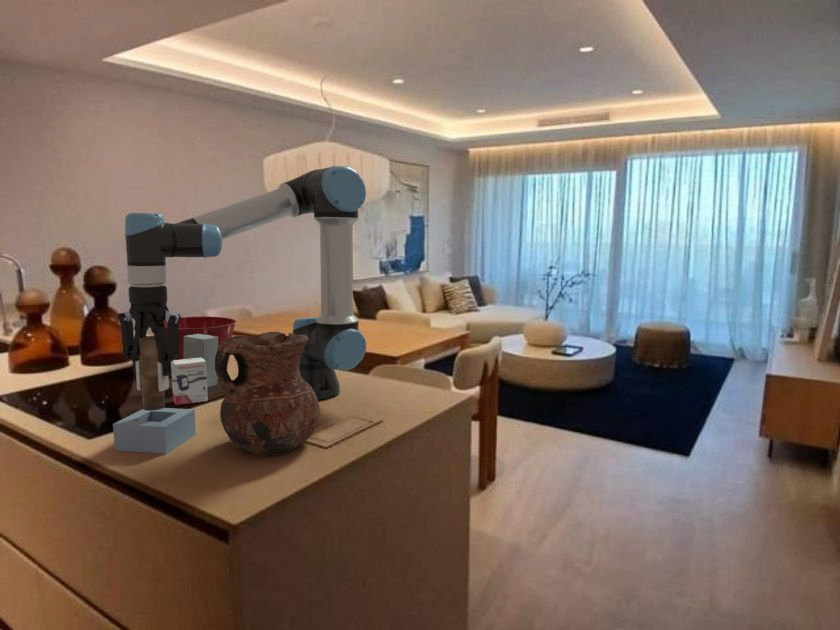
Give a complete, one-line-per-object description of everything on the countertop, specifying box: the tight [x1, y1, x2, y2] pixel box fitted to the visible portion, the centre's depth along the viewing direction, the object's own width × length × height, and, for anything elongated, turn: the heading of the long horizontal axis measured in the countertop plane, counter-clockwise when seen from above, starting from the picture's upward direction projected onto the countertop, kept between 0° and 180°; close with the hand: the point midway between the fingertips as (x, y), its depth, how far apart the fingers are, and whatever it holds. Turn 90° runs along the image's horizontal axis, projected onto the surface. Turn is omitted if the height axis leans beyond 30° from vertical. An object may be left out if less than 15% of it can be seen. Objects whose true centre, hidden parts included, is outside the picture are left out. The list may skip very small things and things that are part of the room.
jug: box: [215, 331, 321, 457], centre depth 121 cm, size 22×21×25 cm
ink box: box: [171, 358, 209, 406], centre depth 153 cm, size 8×5×12 cm, turn 123°
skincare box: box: [183, 334, 218, 389], centre depth 169 cm, size 8×7×16 cm
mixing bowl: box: [164, 316, 237, 361], centre depth 198 cm, size 28×28×16 cm
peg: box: [139, 335, 166, 411], centre depth 122 cm, size 4×4×16 cm
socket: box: [112, 407, 197, 455], centre depth 124 cm, size 12×12×6 cm
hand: (153, 388), depth 122 cm, fingers closed on peg, 4 cm apart
